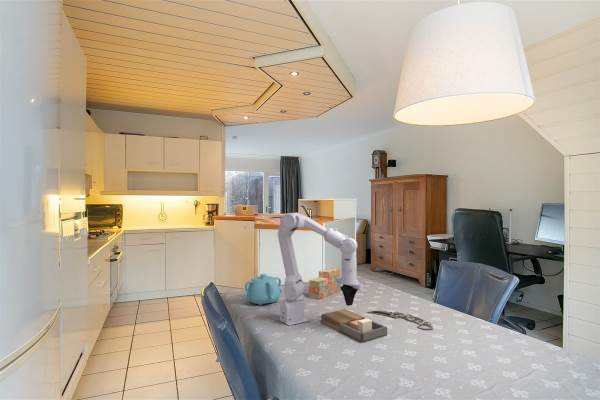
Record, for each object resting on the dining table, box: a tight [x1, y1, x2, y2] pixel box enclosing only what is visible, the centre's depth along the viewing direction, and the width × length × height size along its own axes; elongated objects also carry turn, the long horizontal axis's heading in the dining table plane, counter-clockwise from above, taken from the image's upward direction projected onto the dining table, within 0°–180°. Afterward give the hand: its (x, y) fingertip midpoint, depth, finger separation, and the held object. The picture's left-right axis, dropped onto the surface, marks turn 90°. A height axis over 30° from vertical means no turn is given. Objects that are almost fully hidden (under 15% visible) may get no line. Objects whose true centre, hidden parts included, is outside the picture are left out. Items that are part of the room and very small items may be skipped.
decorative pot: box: [243, 273, 283, 306], centre depth 162 cm, size 16×16×14 cm
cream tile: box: [358, 318, 373, 333], centre depth 120 cm, size 4×4×3 cm
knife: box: [366, 310, 434, 331], centre depth 135 cm, size 28×2×10 cm
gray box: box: [339, 317, 388, 344], centre depth 120 cm, size 12×12×3 cm
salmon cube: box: [350, 320, 359, 331], centre depth 123 cm, size 4×4×3 cm
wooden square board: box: [320, 308, 365, 332], centre depth 131 cm, size 12×12×3 cm
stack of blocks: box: [308, 267, 341, 301], centre depth 174 cm, size 21×6×12 cm, turn 145°
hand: (349, 305), depth 127 cm, fingers closed
